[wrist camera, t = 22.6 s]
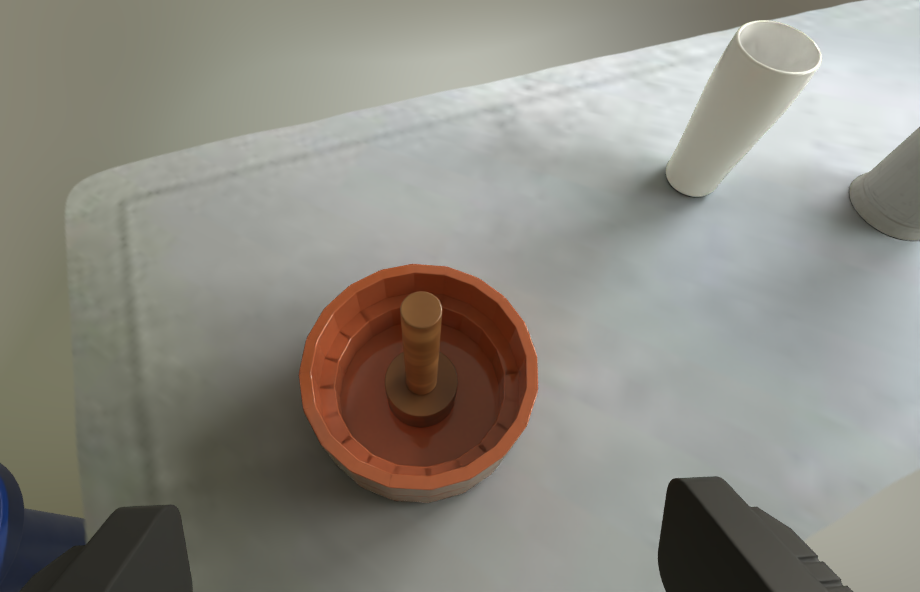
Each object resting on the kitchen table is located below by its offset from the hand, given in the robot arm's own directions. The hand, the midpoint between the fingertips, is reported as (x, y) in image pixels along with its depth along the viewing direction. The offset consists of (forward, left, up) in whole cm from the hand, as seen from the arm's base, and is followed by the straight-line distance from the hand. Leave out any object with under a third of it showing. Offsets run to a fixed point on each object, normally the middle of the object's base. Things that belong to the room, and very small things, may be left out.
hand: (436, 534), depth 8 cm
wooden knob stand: (+6, +10, -28) cm, 31 cm away
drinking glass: (+41, +15, -29) cm, 52 cm away
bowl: (+6, +10, -29) cm, 31 cm away
